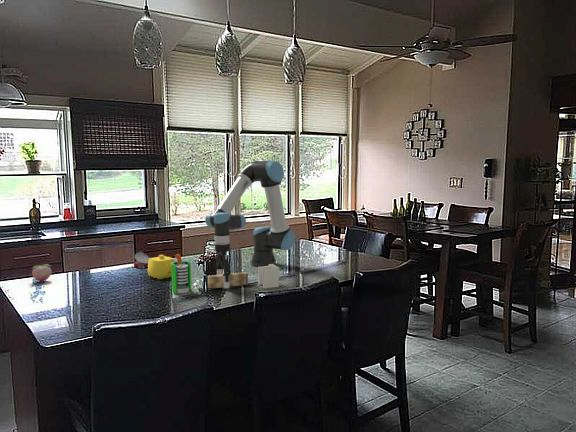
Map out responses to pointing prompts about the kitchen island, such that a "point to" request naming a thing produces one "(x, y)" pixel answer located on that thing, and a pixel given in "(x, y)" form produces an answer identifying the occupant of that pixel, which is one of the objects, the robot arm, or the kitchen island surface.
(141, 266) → the canned food
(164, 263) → the teapot
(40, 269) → the decorative fruit
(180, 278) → the green-shelled ribbed roller
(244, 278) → the rail
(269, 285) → the white stepped block
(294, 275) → the kitchen island surface
